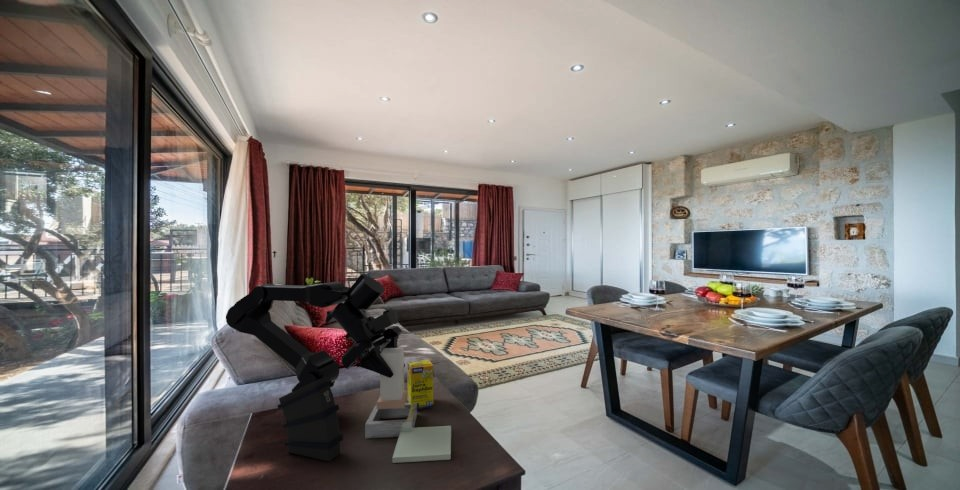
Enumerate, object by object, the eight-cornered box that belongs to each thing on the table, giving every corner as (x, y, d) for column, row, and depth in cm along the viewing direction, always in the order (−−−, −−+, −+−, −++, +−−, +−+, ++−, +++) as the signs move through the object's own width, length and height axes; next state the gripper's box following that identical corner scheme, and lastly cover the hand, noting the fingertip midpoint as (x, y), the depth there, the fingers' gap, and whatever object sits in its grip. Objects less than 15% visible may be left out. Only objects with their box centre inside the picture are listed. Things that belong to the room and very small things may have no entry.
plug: (376, 409, 75) (376, 355, 76) (382, 397, 81) (381, 347, 82) (403, 407, 76) (403, 353, 76) (407, 396, 82) (407, 346, 82)
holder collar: (365, 438, 73) (365, 424, 73) (375, 416, 83) (375, 404, 83) (412, 435, 74) (411, 421, 74) (417, 414, 84) (416, 402, 84)
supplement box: (411, 411, 86) (410, 368, 86) (407, 402, 91) (406, 361, 91) (434, 407, 88) (433, 364, 88) (429, 398, 93) (428, 358, 94)
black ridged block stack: (341, 457, 64) (314, 381, 66) (293, 476, 67) (269, 402, 70) (355, 446, 67) (329, 374, 70) (308, 464, 71) (285, 395, 73)
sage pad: (392, 463, 64) (392, 457, 64) (401, 432, 75) (401, 428, 75) (450, 459, 65) (450, 454, 65) (451, 430, 76) (451, 425, 76)
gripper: (353, 305, 71) (402, 360, 68) (394, 294, 89) (435, 338, 87) (321, 341, 73) (368, 397, 70) (368, 324, 91) (406, 367, 88)
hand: (398, 371), depth 79 cm, fingers closed on plug, 6 cm apart
